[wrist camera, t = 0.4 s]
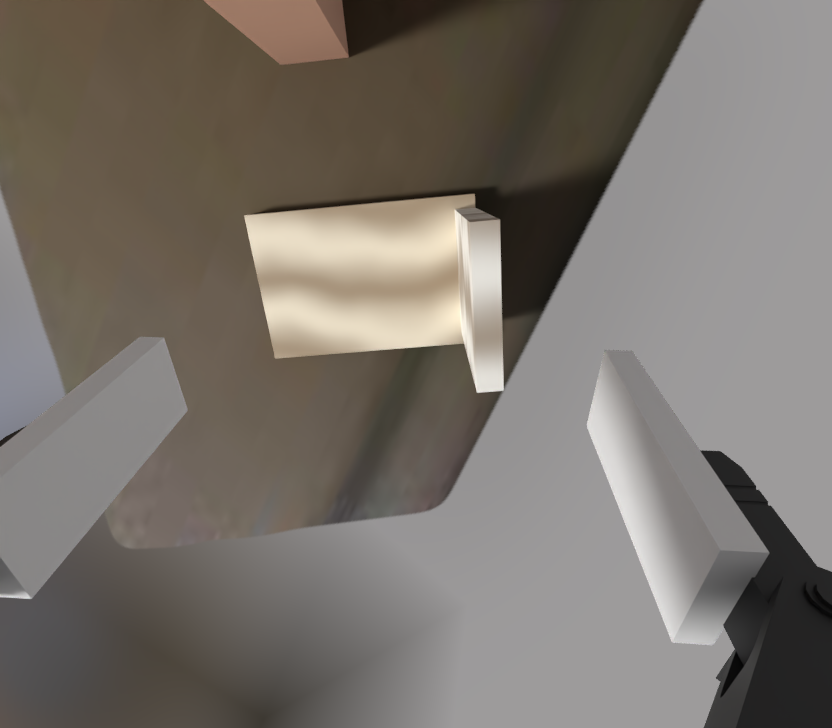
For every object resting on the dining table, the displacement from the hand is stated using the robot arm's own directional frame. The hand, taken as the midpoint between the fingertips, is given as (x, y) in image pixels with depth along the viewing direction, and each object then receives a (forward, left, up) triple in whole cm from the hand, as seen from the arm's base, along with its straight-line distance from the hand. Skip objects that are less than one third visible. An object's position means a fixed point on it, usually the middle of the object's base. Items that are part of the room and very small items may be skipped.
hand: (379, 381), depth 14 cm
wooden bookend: (+2, -3, -26) cm, 26 cm away
